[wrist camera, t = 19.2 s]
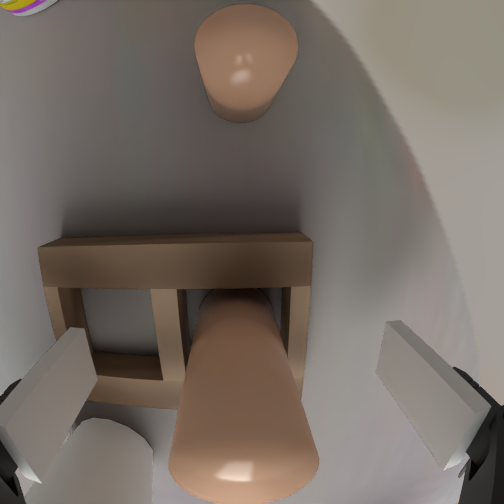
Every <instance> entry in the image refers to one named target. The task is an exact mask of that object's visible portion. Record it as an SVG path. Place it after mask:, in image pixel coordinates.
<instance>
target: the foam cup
mask: <svg viewBox="0 0 504 504" xmlns="http://www.w3.org/2000/svg"><path fill="white" fill-rule="evenodd" d="M24 499H25V502H26V504H153V449H152V448H151V447H150V445H149V444H148V443H147V441H146V440H145V439H144V438H143V437H142V436H140V435H139V434H138V433H136V432H135V431H133V430H132V429H131V428H129V427H127V426H125V425H122V424H120V423H117V422H115V421H112V420H109V419H100V418H91V419H88V420H85V421H82V422H81V424H80V426H77V428H76V429H75V430H74V432H73V433H72V434H71V435H70V437H69V438H68V439H67V441H66V442H65V443H64V445H63V446H62V447H61V448H60V450H59V451H58V453H57V455H56V457H55V459H54V461H53V463H52V465H51V467H50V469H49V471H48V473H47V475H46V477H45V479H44V481H43V484H41V483H38V482H36V481H35V483H34V484H33V485H32V487H31V488H30V490H29V491H28V492H27V494H26V495H25V496H24Z"/></svg>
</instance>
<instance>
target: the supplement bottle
mask: <svg viewBox="0 0 504 504" xmlns="http://www.w3.org/2000/svg"><path fill="white" fill-rule="evenodd" d="M57 1H58V0H0V6H1V7H2V8H4V9H5V10H7V11H9V12H10V13H12V14H14V15H16V16H28V15H32V14H35V13H38V12H40V11H42V10H44V9H46V8H47V7H49V6H51V5H52V4H54V3H55V2H57Z"/></svg>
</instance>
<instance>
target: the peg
mask: <svg viewBox="0 0 504 504" xmlns="http://www.w3.org/2000/svg"><path fill="white" fill-rule="evenodd" d="M318 466H319V456H318V453H317V450H316V446H315V443H314V440H313V437H312V434H311V430H310V427H309V424H308V421H307V418H306V415H305V411H304V408H303V405H302V402H301V399H300V396H299V392H298V389H297V386H296V383H295V380H294V377H293V373H292V370H291V367H290V364H289V361H288V358H287V354H286V351H285V348H284V345H283V342H282V339H281V335H280V332H279V329H278V326H277V323H276V320H275V317H274V313H273V310H272V307H271V305H270V303H269V301H268V299H267V298H266V297H265V296H264V295H263V294H262V293H261V292H260V291H258V290H257V289H255V288H229V289H215V290H213V291H212V292H211V293H209V294H208V295H207V297H206V298H205V299H204V300H203V302H202V304H201V306H200V309H199V314H198V318H197V323H196V327H195V332H194V336H193V341H192V345H191V350H190V355H189V359H188V364H187V369H186V374H185V379H184V384H183V389H182V394H181V399H180V404H179V409H178V414H177V419H176V425H175V430H174V435H173V441H172V446H171V452H170V458H169V471H170V474H171V476H172V478H173V479H174V481H175V482H176V483H177V484H178V485H179V486H180V487H181V488H182V489H184V490H185V491H187V492H188V493H190V494H192V495H194V496H196V497H198V498H201V499H203V500H206V501H210V502H214V503H218V504H264V503H269V502H272V501H276V500H279V499H282V498H285V497H287V496H289V495H291V494H293V493H295V492H297V491H298V490H300V489H301V488H303V487H304V486H305V485H306V484H308V483H309V482H310V481H311V479H312V478H313V477H314V475H315V474H316V472H317V470H318Z"/></svg>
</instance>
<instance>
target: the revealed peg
mask: <svg viewBox="0 0 504 504" xmlns="http://www.w3.org/2000/svg"><path fill="white" fill-rule="evenodd" d="M194 49H195V54H196V58H197V62H198V65H199V69H200V72H201V76H202V79H203V83H204V86H205V90H206V93H207V97H208V101H209V103H210V106H211V108H212V109H213V110H214V112H215V113H216V114H217V115H219V116H220V117H221V118H223V119H225V120H227V121H230V122H235V123H246V122H251V121H254V120H256V119H258V118H259V117H261V116H262V115H263V114H264V113H265V112H266V111H267V110H268V109H269V107H270V105H271V103H272V101H273V100H274V98H275V96H276V94H277V92H278V91H279V89H280V87H281V85H282V83H283V82H284V80H285V78H286V76H287V75H288V73H289V71H290V69H291V67H292V66H293V64H294V62H295V60H296V57H297V54H298V39H297V36H296V33H295V31H294V29H293V27H292V26H291V24H290V23H289V22H288V21H287V20H286V19H285V18H284V17H283V16H282V15H280V14H279V13H277V12H276V11H274V10H272V9H269V8H267V7H264V6H260V5H255V4H236V5H231V6H227V7H224V8H222V9H220V10H218V11H216V12H214V13H213V14H211V15H210V16H209V17H207V18H206V19H205V20H204V22H203V23H202V24H201V26H200V27H199V29H198V31H197V33H196V36H195V42H194Z"/></svg>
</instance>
